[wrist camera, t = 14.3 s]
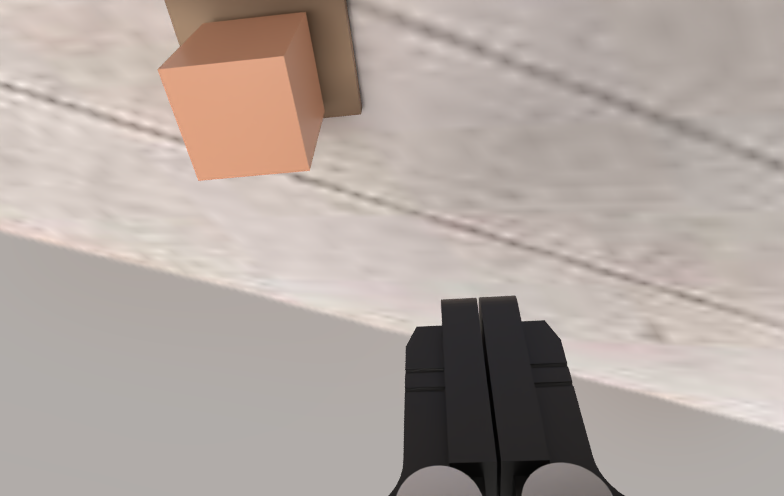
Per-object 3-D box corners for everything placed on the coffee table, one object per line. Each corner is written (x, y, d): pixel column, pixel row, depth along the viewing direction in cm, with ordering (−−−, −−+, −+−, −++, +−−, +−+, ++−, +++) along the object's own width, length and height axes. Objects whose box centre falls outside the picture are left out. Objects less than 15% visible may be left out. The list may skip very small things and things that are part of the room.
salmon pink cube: (203, 23, 27) (157, 69, 22) (305, 11, 27) (283, 56, 22) (232, 120, 31) (198, 180, 25) (324, 111, 30) (309, 170, 25)
